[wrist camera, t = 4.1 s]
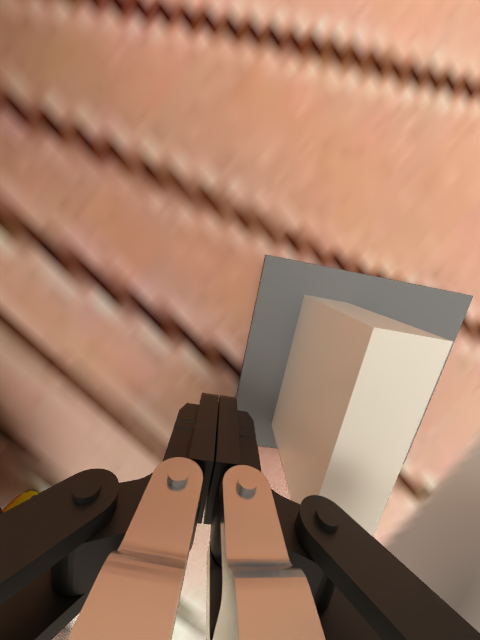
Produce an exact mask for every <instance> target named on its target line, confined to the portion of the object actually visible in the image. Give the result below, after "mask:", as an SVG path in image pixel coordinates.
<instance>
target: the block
mask: <svg viewBox="0 0 480 640" xmlns="http://www.w3.org/2000/svg"><path fill="white" fill-rule="evenodd" d="M452 343H453V341H451V340H448V339H445V338H442V337H440V336H437V335H434V334H432V333H429V332H426V331H423V330H421V329H418V328H415V327H412V326H410V325H407V324H404V323H402V322H399V321H396V320H393V319H391V318H388V317H385V316H383V315H380V314H377V313H374V312H372V311H369V310H366V309H364V308H361V307H358V306H355V305H353V304H350V303H347V302H342V301H336V300H331V299H326V298H320V297H315V296H310V295H304V297H303V301H302V305H301V309H300V313H299V317H298V321H297V325H296V329H295V333H294V337H293V341H292V345H291V349H290V353H289V357H288V361H287V365H286V369H285V373H284V377H283V381H282V385H281V389H280V393H279V397H278V401H277V405H276V409H275V413H274V417H273V421H272V428H273V432H274V436H275V440H276V444H277V448H278V451H279V455H280V459H281V463H282V467H283V471H284V475H285V479H286V482H287V486H288V490H289V494H290V498H291V501H294V502H296V503H298V504H301V502H302V500H303V499H304V498H306V497H307V496H310V495H319V496H323V497H326V498H328V499H330V500H331V501H333V502H334V503H336V504H337V505H338V506H339V507H340V508H342V509H343V510H344V511H345V512H346V513H347V514H348V515H349V516H350V517H352V518H353V519H354V520H355V521H356V522H357V523H358V524H359V525H360V526H361V527H363V528H364V529H365V530H366V531H367V532H368V533H369V534H370V535H371V536H373V535H374V533H375V530H376V528H377V525H378V523H379V521H380V518H381V516H382V513H383V511H384V508H385V506H386V504H387V501H388V499H389V496H390V494H391V491H392V489H393V487H394V484H395V482H396V479H397V477H398V474H399V472H400V470H401V467H402V465H403V462H404V460H405V457H406V455H407V453H408V450H409V448H410V445H411V443H412V440H413V438H414V436H415V433H416V431H417V428H418V426H419V423H420V421H421V419H422V416H423V414H424V411H425V409H426V406H427V404H428V402H429V399H430V397H431V394H432V392H433V389H434V387H435V385H436V382H437V380H438V377H439V375H440V372H441V370H442V368H443V365H444V363H445V360H446V358H447V355H448V353H449V351H450V348H451V346H452Z"/></svg>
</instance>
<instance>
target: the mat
mask: <svg viewBox="0 0 480 640" xmlns="http://www.w3.org/2000/svg"><path fill="white" fill-rule="evenodd" d="M304 295H310V296H315V297H320V298H326V299H331V300H336V301H342V302H347V303H350V304H353V305H355V306H358V307H361V308H364V309H366V310H369V311H372V312H374V313H377V314H380V315H383V316H385V317H388V318H391V319H393V320H396V321H399V322H402V323H404V324H407V325H410V326H412V327H415V328H418V329H421V330H423V331H426V332H429V333H432V334H434V335H437V336H440V337H442V338H445V339H448V340H451V341H453V343H452V346H453V344H454V341H455V339H456V336H457V334H458V332H459V329H460V327H461V324H462V322H463V320H464V317H465V315H466V312H467V310H468V307H469V305H470V303H471V300H472V298H473V296H471V295H466V294H461V293H456V292H451V291H446V290H441V289H436V288H431V287H426V286H421V285H416V284H411V283H406V282H401V281H396V280H391V279H386V278H380V277H375V276H370V275H365V274H360V273H355V272H350V271H345V270H340V269H335V268H330V267H325V266H320V265H315V264H310V263H305V262H300V261H295V260H290V259H285V258H280V257H275V256H270V255H265V259H264V264H263V269H262V274H261V279H260V284H259V288H258V293H257V298H256V303H255V308H254V313H253V318H252V322H251V327H250V332H249V337H248V342H247V347H246V352H245V356H244V361H243V366H242V371H241V376H240V381H239V385H238V390H237V395H236V398H237V409H238V410H239V411H246V412H248V413H249V415H250V416H251V418H252V419H253V420H254V427H255V434H256V440H257V446H263V447H271V448H277V444H276V440H275V436H274V432H273V428H272V421H273V417H274V413H275V409H276V405H277V401H278V397H279V393H280V389H281V385H282V381H283V377H284V373H285V369H286V365H287V361H288V357H289V353H290V349H291V345H292V341H293V337H294V333H295V329H296V325H297V321H298V317H299V313H300V309H301V305H302V301H303V297H304ZM452 346H451V348H450V351H451V349H452ZM450 351H449V353H450ZM449 353H448V355H447V358H448V356H449ZM447 358H446V360H445V363H446V361H447ZM445 363H444V365H443V368H444V366H445ZM443 368H442V370H443ZM442 370H441V372H440V375H441V373H442ZM440 375H439V377H438V380H439V378H440ZM438 380H437V382H438ZM437 382H436V385H437ZM436 385H435V387H436ZM435 387H434V389H433V392H434V390H435ZM433 392H432V394H431V397H432V395H433ZM431 397H430V399H431ZM430 399H429V402H430ZM429 402H428V404H429ZM428 404H427V406H426V409H427V407H428ZM426 409H425V411H424V414H425V412H426ZM424 414H423V416H424ZM423 416H422V419H423ZM422 419H421V421H422ZM421 421H420V423H419V426H420V424H421ZM419 426H418V428H419ZM418 428H417V431H418ZM417 431H416V433H417ZM416 433H415V436H416ZM415 436H414V438H415ZM414 438H413V440H412V443H413V441H414ZM412 443H411V445H412ZM411 445H410V448H411ZM410 448H409V450H410ZM409 450H408V453H409ZM408 453H407V455H408ZM407 455H406V457H405V460H406V458H407ZM405 460H404V462H405ZM404 462H403V464H404Z"/></svg>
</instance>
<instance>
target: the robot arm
mask: <svg viewBox="0 0 480 640" xmlns="http://www.w3.org/2000/svg"><path fill="white" fill-rule="evenodd" d="M218 399H219V402H218ZM204 508H205V513H204ZM203 513H204V524H211V534H210V542H209V547H208V551H207V596H206V640H480V633H479V632H478V631H477V630H475V629H474V628H473V627H472V626H471V625H470V624H469V623H468V622H467V621H466V620H465V619H463V618H462V617H461V616H460V615H459V614H458V613H457V612H456V611H454V610H453V609H452V608H451V607H450V606H449V605H448V604H447V603H446V602H445V601H443V600H442V599H441V598H440V597H439V596H438V595H437V594H436V593H435V592H433V591H432V590H431V589H430V588H429V587H428V586H427V585H426V584H425V583H424V582H422V581H421V580H420V579H419V578H418V577H417V576H416V575H415V574H414V573H412V572H411V571H410V570H409V569H408V568H407V567H406V566H405V565H404V564H402V563H401V562H400V561H399V560H398V559H397V558H396V557H394V555H392V554H391V553H390V552H389V551H388V550H387V549H386V548H385V547H384V546H383V545H381V544H380V543H379V542H378V541H377V540H376V539H375V538H374V537H373V536H371V535H370V534H369V533H368V532H367V531H366V530H365V529H364V528H363V527H361V526H360V525H359V524H358V523H357V522H356V521H355V520H354V519H353V518H352V517H350V516H349V515H348V514H347V513H346V512H345V511H344V510H343V509H342V508H340V507H339V506H338V505H337V504H336V503H334V502H333V501H331V500H330V499H328V498H326V497H323V496H319V495H310V496H307V497H306V498H304V499H303V500H302V502H301V504H298V503H296V502H294V501H291V500H289V499H287V498H285V497H283V496H281V495H279V494H277V493H276V492H275V491H273V490H272V489H271V488H270V484H269V482H268V480H267V478H266V477H265V476H264V475H263V474H262V472H261V466H260V460H259V453H258V447H257V440H256V434H255V427H254V420H253V419H252V418H251V416H250V415H249V413H248V412H246V411H239V410H238V409H237V398H234V397H228V396H221V395H220V397H219V395H214V394H207V393H202V395H201V400H200V405H197V404H190V403H187V404H186V405H184V406H183V407H182V408H181V409H180V410H179V413H178V416H177V420H176V422H175V425H174V429H173V431H172V435H171V438H170V441H169V444H168V447H167V450H166V453H165V456H164V459H163V461H162V463H160V464H159V465H158V466H157V467H156V469H155V470H154V472H153V473H151V474H150V475H148V476H146V477H144V478H141V479H138V480H133V481H128V482H122V483H119V482H118V479H117V477H116V476H115V475H114V474H113V473H112V472H110V471H108V470H105V469H89V470H85V471H82V472H79V473H77V474H75V475H73V476H71V477H69V478H67V479H66V480H64V481H62V482H60V483H58V484H56V485H54V486H52V487H51V488H49V489H47V490H45V491H43V492H41V493H39V494H37V495H36V496H34V497H32V498H30V499H28V500H26V501H24V502H22V503H20V504H19V505H17V506H15V507H13V508H11V509H9V510H7V511H5V512H4V513H2V514H0V640H52V639H53V638H54V637H55V636H56V635H57V634H58V633H59V632H60V631H61V630H62V629H63V628H64V627H65V626H66V625H67V624H68V623H69V622H70V621H71V620H72V619H74V618H75V617H76V616H77V615H78V614H79V613H80V614H79V616H78V618H77V620H76V622H75V624H74V627H73V629H72V631H71V633H70V635H69V637H68V639H67V640H171V639H172V634H173V629H174V624H175V619H176V614H177V610H178V605H179V600H180V595H181V590H182V585H183V580H184V575H185V570H186V565H187V560H188V555H189V551H190V550H191V548H192V545H193V541H194V536H195V531H196V526H197V523H200V524H201V523H202V518H203Z"/></svg>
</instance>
